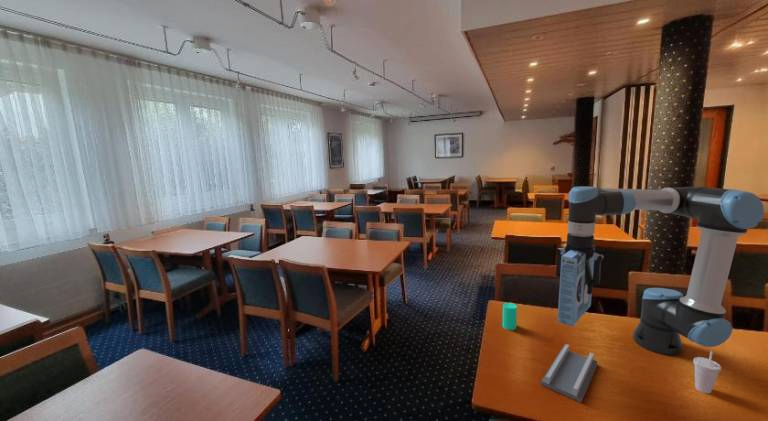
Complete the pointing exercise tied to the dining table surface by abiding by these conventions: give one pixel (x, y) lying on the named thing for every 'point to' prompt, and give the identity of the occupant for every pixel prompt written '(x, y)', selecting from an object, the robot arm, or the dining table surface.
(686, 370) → the dining table surface
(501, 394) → the dining table surface
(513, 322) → the candle
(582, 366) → the door track
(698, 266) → the robot arm
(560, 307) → the gum box
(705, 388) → the smoothie
